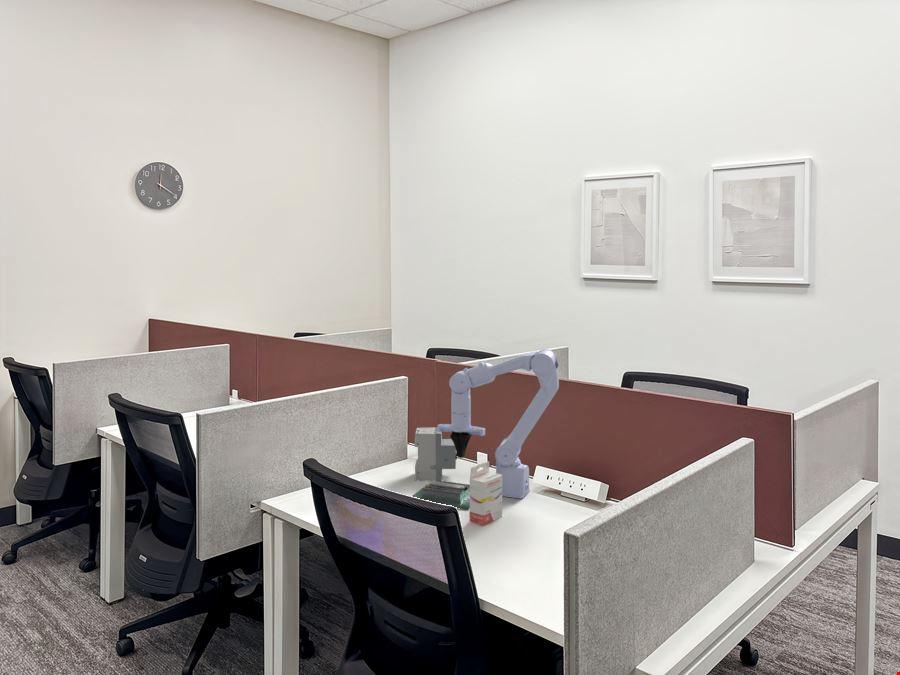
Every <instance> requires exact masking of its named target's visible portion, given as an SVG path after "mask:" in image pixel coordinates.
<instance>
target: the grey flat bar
mask: <svg viewBox="0 0 900 675" xmlns="http://www.w3.org/2000/svg"><path fill="white" fill-rule="evenodd" d="M428 484H429V485H430V486H436V487H442V488H448V489H454V490H464V489H465V488H466V486H465V485H464V486H463V485H457V484H450V483H444V482H438V481H429V483H428Z"/></svg>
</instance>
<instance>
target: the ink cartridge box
mask: <svg viewBox="0 0 900 675" xmlns="http://www.w3.org/2000/svg"><path fill="white" fill-rule="evenodd" d="M480 468H481V470H480ZM489 470H490V461H485V462H483V463H480V464H478V465H475V466H474V465H473V466H471V468H470V472H469V473H470V475H469V485H470V508H469V522H470V523H474V524H477V525H478V526H479V525H480V526H482V527H483V526H486V525H488V524H491V523H492V522H494V521H496V520H498V519H500V517H501V518H503V496H502V480H503V475H501V474H496V472H491V471H489Z"/></svg>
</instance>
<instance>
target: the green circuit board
mask: <svg viewBox="0 0 900 675" xmlns="http://www.w3.org/2000/svg"><path fill="white" fill-rule="evenodd" d="M432 481H438V480H432ZM438 482H444V483H450V484H457V485H463V486H464V485H465V486H466V488H465V489H464V490H454V489H448V488H442V487H436V486H430V485H429V483H427V484H425V485H424V486H423V487H422V488H421V489H419V490H418V491H416V492H415V493H413V495H411V496H413V497H417V498H420V499H424V500H429V501H432V502H436V503H441V504H446V505H452V506H454V507H457V508H460V509H459V510H464V511H465V510H467V511H469V510H470V483H469V484H467V483H460V482H453V481H446V480H445V481H443V480H441V481H438ZM457 508H456V509H457Z"/></svg>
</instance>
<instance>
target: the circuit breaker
mask: <svg viewBox="0 0 900 675" xmlns="http://www.w3.org/2000/svg"><path fill="white" fill-rule="evenodd" d="M414 435H415V436H414V447H415V448H417V458H416V459H415V460H416V462H415V464H414V481H415V482H416V481H420V482H423V481H424V482H425V481H427V482H431V481H432V480H438V481H443V480H442V478H443V470H456V465H457V460H458V455H457V451H456V448H455V445H454V443H453V441H452V439H451V438H443V431H441V432H438V431H437V427H416V430H415V433H414Z"/></svg>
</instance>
